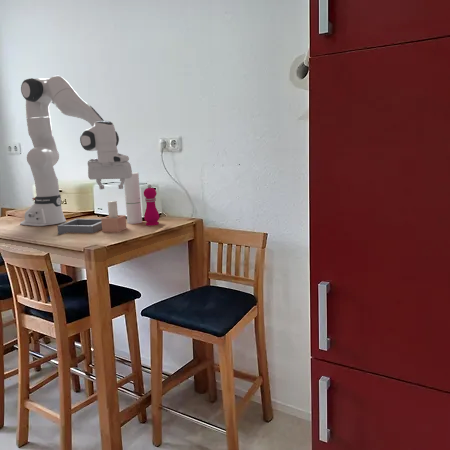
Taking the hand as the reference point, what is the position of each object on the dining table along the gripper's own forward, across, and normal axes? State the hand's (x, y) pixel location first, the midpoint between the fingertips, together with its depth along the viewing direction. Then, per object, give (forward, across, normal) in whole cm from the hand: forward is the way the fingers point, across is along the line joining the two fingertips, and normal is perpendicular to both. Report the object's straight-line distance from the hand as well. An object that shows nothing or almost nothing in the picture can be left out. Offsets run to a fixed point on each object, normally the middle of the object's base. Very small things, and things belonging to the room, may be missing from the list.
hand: (111, 189), depth 213 cm
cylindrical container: (+20, +2, +17) cm, 26 cm away
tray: (+19, -17, +1) cm, 26 cm away
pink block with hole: (+20, -1, 0) cm, 20 cm away
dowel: (+19, -1, 0) cm, 19 cm away
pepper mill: (+20, +12, +13) cm, 27 cm away
